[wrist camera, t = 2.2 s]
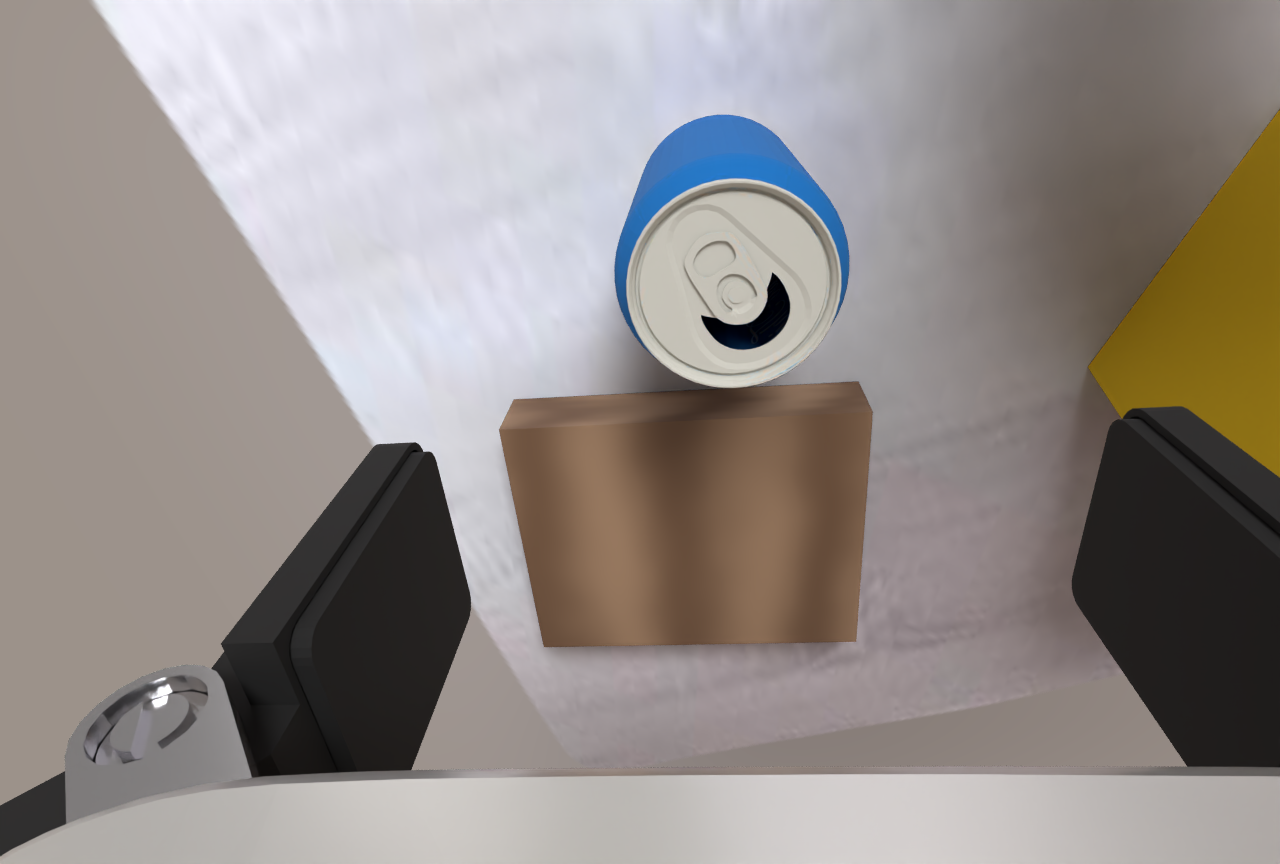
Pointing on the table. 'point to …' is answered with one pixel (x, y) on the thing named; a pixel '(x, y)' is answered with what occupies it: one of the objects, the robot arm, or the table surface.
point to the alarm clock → (1213, 316)
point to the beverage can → (730, 255)
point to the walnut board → (693, 513)
